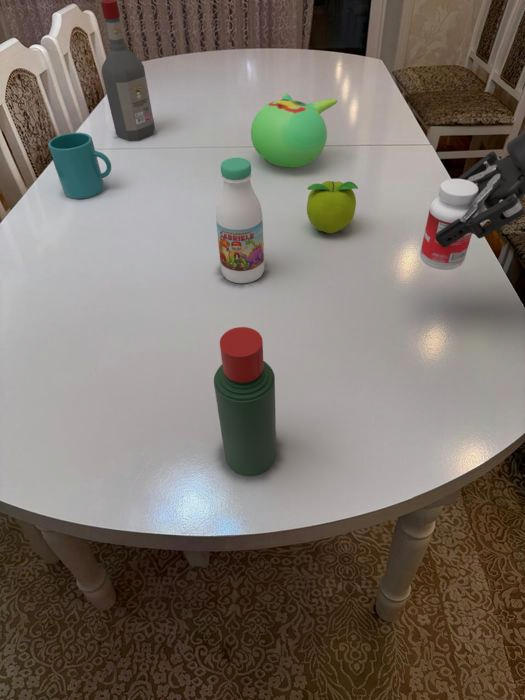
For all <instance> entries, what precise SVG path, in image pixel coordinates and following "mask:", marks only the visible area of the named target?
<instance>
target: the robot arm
mask: <svg viewBox="0 0 525 700" xmlns="http://www.w3.org/2000/svg"><path fill="white" fill-rule="evenodd" d="M506 151H507V153H508V155H506V156H504V157H502V158H501V159H500V157H499V156H498V154H496V152H495V151H494V150H493V151H490V152H489V153H487V154H486V155H485V156H484V157H482V158H481V159H480V160H479V161H477V162H476V163H475V164H474V165H472V166H471V167H470V168H469V169H467V170H466V171H464V172H463V174H461V175H460V176H458V178H456V179H464V180H468V181H471V182H473V183H474V184H476V185H477V186H478V194H477V197H476V198H475V199H474V200H473V201H472V207H471V208H470V209H469V210H468V211H467V212H466V213H465V214H464V215H463V216H462V217H461V219H457V220H456V221H454V222H453V223H451V224H450V225H448V226H447V227H445V228H444V229H442V230H441V231H439V232H438V233H436V235H435V238H436V241H437V242H438V243H439V244H440V245H441V246H442V247H447V246H449V245H451V244H452V243H454V242H455V241H457V240H458V239H460V238H462V237H463V236H465V235H466V234H468V233H471V234H472V235H475V236H476V238H477V239H482V238H484V237H486V236H488V235H490V234H491V233H494V232H495V231H497V230H499V229H501V228H503V227H504V226H506V225H507V224H509V223H512V222H513V221H515V220H517V219H519V218H521V217H522V216H524V214H525V208H524V207H523V205H522V204H521V200H522V199H523V197H524V196H525V130H524V131H522V132H521V133H520V134H518V135H517V136H515V137H514V138H513V139H511V140H510V141H508V143H507V144H506ZM477 212H478V215H477V216H475V217H474V218H472V217H473V216H474V215H475V214H476V213H477ZM487 222H490V223H488V224H487V225H485V224H486V223H487ZM484 225H485V226H484Z"/></svg>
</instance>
